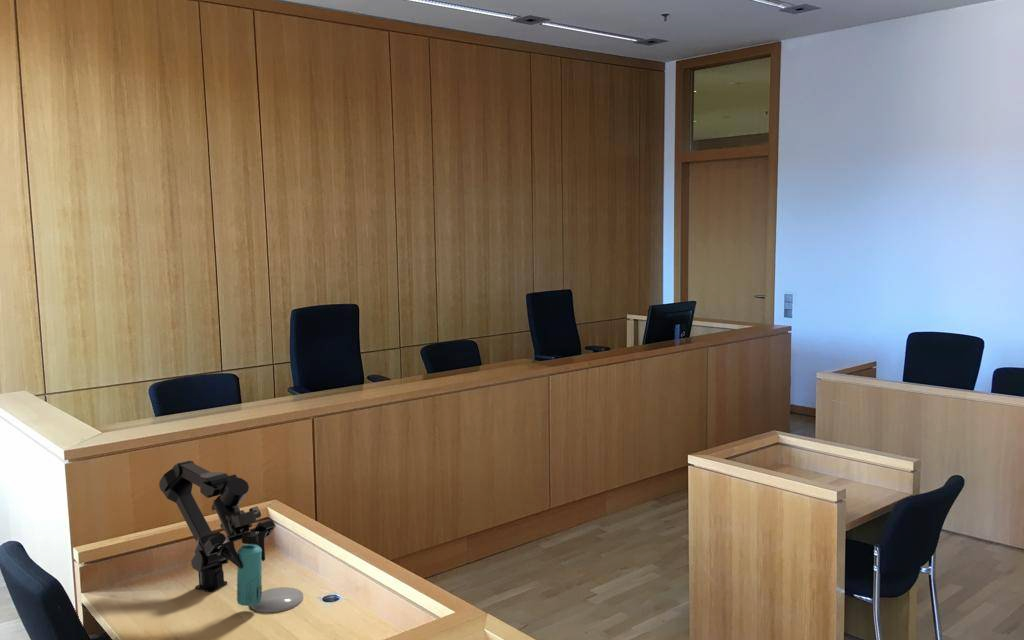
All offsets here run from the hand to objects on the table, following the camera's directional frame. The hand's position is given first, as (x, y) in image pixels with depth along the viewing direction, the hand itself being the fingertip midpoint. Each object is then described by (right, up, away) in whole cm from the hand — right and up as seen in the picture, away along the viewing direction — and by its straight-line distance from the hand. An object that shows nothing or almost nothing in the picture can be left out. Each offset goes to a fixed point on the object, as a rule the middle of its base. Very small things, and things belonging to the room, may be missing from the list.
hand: (253, 564), depth 221 cm
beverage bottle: (-2, -12, +1) cm, 12 cm away
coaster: (+4, -12, +8) cm, 15 cm away
